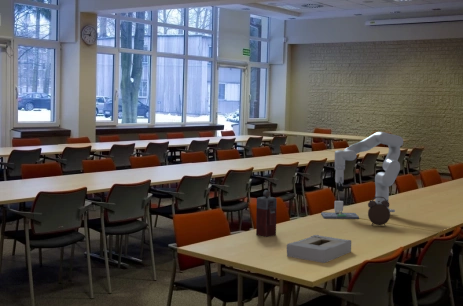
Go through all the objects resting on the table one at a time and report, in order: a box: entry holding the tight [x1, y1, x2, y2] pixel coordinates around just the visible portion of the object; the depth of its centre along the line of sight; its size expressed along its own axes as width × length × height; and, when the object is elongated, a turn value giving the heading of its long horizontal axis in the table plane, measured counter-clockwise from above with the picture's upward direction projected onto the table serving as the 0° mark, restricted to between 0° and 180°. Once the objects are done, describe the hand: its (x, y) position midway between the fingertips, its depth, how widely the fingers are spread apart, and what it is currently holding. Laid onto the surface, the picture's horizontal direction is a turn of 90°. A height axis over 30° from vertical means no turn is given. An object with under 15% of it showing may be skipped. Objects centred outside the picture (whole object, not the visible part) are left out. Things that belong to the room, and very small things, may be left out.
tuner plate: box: [320, 211, 360, 220], centre depth 450 cm, size 25×16×3 cm, turn 89°
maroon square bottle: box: [255, 189, 278, 238], centre depth 383 cm, size 9×11×28 cm
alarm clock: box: [367, 196, 391, 227], centre depth 416 cm, size 15×7×20 cm, turn 84°
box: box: [286, 234, 352, 264], centre depth 337 cm, size 23×8×32 cm
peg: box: [333, 200, 344, 214], centre depth 450 cm, size 13×6×9 cm, turn 178°
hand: (339, 190), depth 453 cm, fingers open, 9 cm apart
